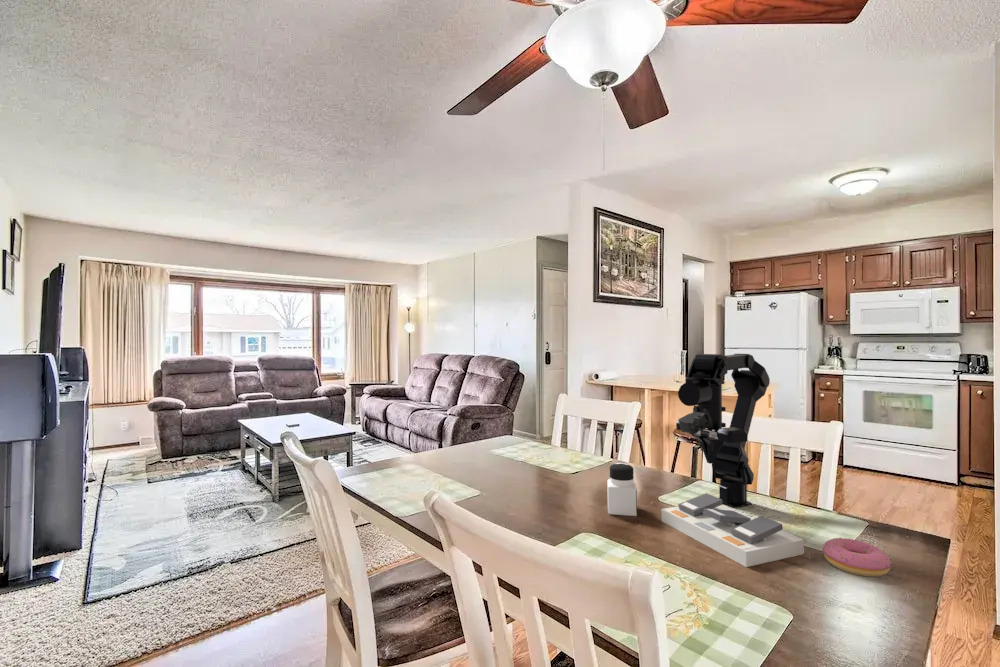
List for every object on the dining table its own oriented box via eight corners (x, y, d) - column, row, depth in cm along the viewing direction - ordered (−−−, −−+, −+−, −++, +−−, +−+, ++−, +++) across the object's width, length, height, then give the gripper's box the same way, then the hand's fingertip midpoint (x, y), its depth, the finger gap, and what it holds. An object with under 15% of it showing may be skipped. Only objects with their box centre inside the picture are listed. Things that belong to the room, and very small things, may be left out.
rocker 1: (707, 497, 119) (706, 492, 119) (722, 504, 114) (722, 499, 114) (679, 509, 116) (678, 504, 116) (694, 516, 111) (693, 511, 111)
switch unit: (712, 512, 122) (711, 498, 122) (803, 554, 98) (803, 536, 98) (661, 521, 116) (661, 506, 116) (746, 567, 93) (746, 548, 93)
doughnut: (820, 549, 101) (820, 530, 101) (885, 561, 95) (885, 541, 95) (824, 571, 91) (824, 550, 91) (897, 586, 86) (897, 563, 86)
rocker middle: (732, 515, 111) (732, 510, 111) (750, 523, 106) (750, 517, 107) (702, 513, 108) (703, 507, 108) (719, 521, 103) (720, 515, 103)
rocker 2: (762, 520, 104) (761, 515, 104) (782, 529, 99) (782, 523, 99) (731, 534, 101) (730, 528, 101) (751, 544, 96) (750, 537, 96)
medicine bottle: (637, 516, 119) (636, 469, 119) (608, 514, 121) (607, 467, 121) (634, 506, 126) (634, 462, 126) (607, 505, 128) (607, 460, 128)
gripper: (659, 399, 127) (660, 457, 127) (713, 409, 110) (713, 476, 110) (692, 397, 131) (693, 453, 131) (749, 406, 114) (749, 471, 113)
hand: (709, 463), depth 121 cm, fingers closed
